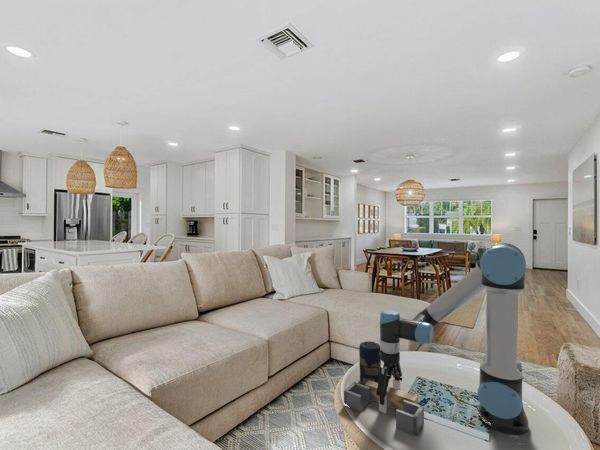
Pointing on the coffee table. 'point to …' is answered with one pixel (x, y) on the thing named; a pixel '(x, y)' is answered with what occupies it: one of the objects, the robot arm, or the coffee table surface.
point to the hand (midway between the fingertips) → (389, 403)
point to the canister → (369, 361)
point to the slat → (391, 396)
